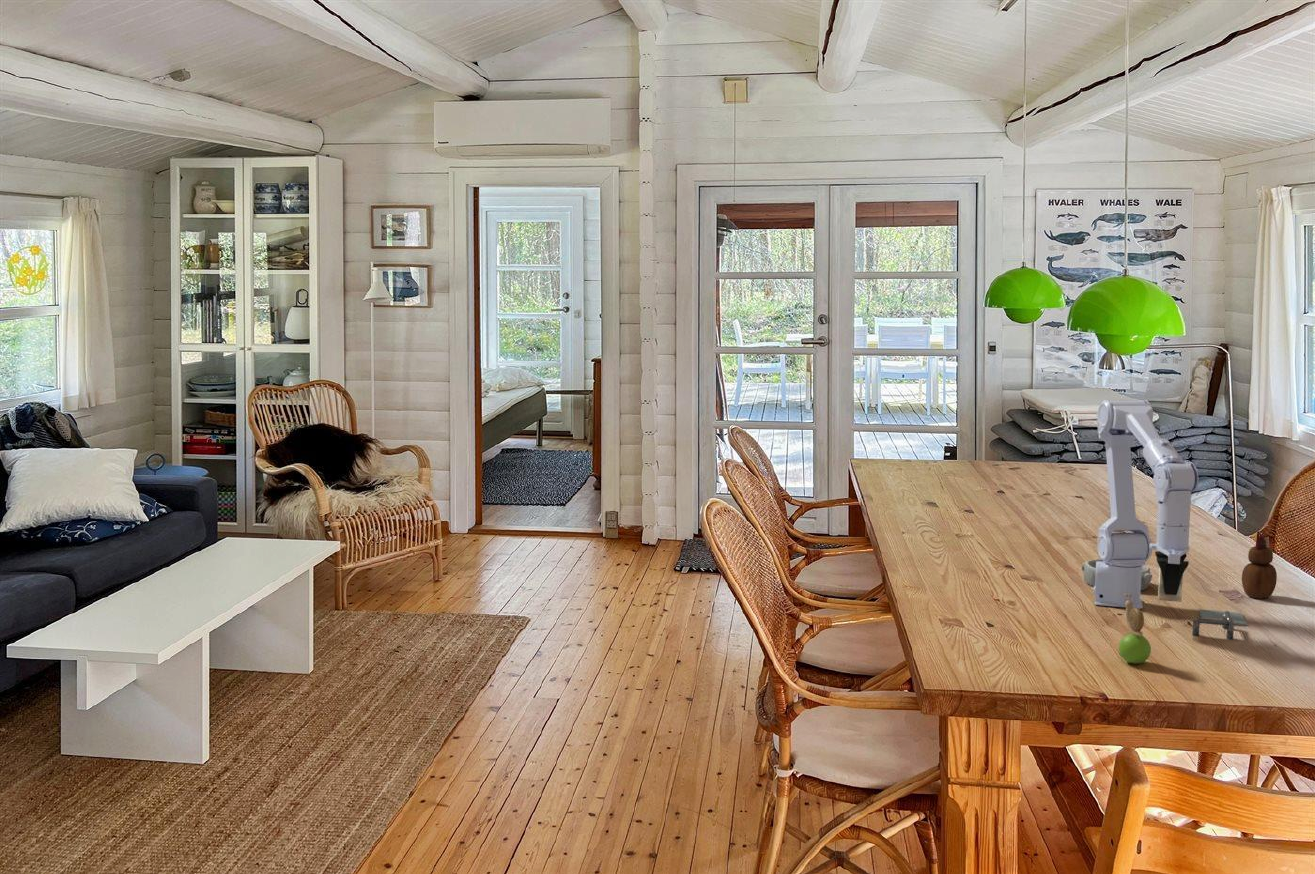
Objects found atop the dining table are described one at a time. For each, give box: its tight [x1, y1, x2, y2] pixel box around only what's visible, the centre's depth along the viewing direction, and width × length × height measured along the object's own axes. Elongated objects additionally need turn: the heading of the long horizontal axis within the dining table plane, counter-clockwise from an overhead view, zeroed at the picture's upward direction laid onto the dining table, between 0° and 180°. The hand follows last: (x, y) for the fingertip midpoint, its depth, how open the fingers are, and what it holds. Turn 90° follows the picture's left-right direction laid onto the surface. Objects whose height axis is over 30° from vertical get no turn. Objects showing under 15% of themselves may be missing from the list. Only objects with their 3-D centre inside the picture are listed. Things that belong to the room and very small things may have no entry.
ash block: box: [1157, 566, 1184, 603], centre depth 218 cm, size 4×4×6 cm
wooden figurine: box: [1241, 530, 1278, 600], centre depth 242 cm, size 7×6×15 cm
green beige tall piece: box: [1118, 594, 1152, 665], centre depth 202 cm, size 5×6×12 cm
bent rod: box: [1191, 610, 1235, 640], centre depth 219 cm, size 7×8×4 cm
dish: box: [1081, 558, 1153, 591], centre depth 255 cm, size 14×14×5 cm
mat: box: [1198, 608, 1247, 627], centre depth 228 cm, size 8×8×1 cm
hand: (1169, 591), depth 218 cm, fingers closed on ash block, 4 cm apart
